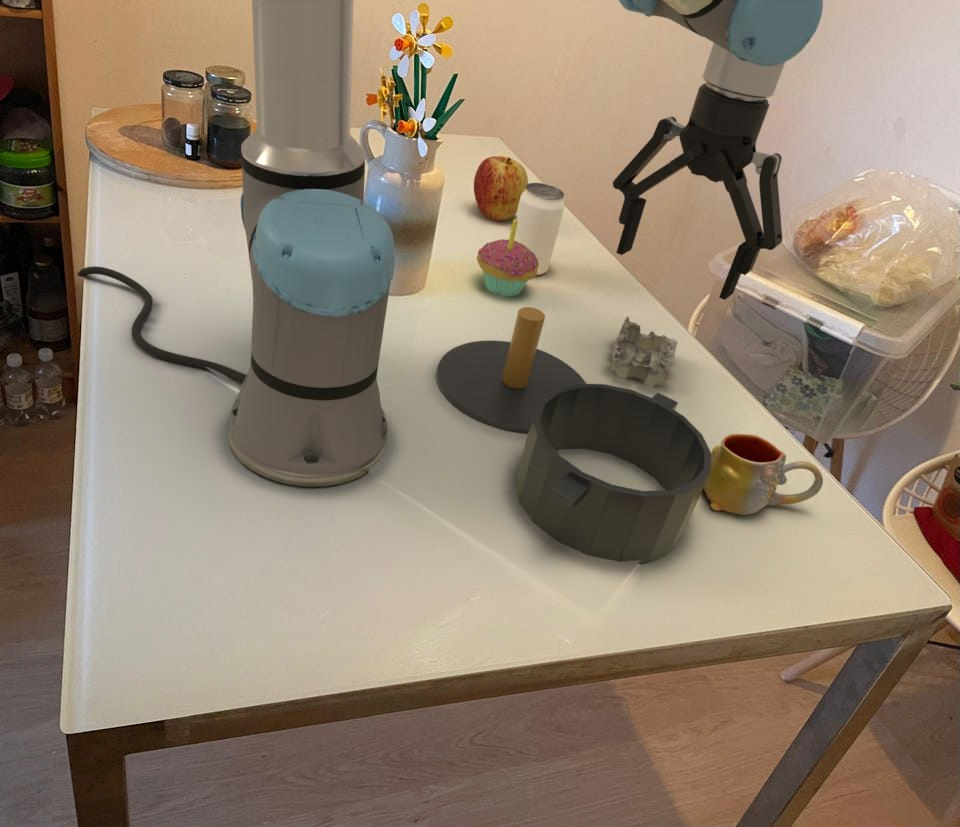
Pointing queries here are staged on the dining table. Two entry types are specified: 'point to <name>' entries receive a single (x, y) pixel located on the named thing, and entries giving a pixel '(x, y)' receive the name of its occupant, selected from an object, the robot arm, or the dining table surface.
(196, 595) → the dining table surface
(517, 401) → the lid
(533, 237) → the can
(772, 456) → the mug
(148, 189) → the dining table surface
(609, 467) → the dining table surface
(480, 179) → the apple
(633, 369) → the egg carton
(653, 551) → the pot
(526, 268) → the cupcake
